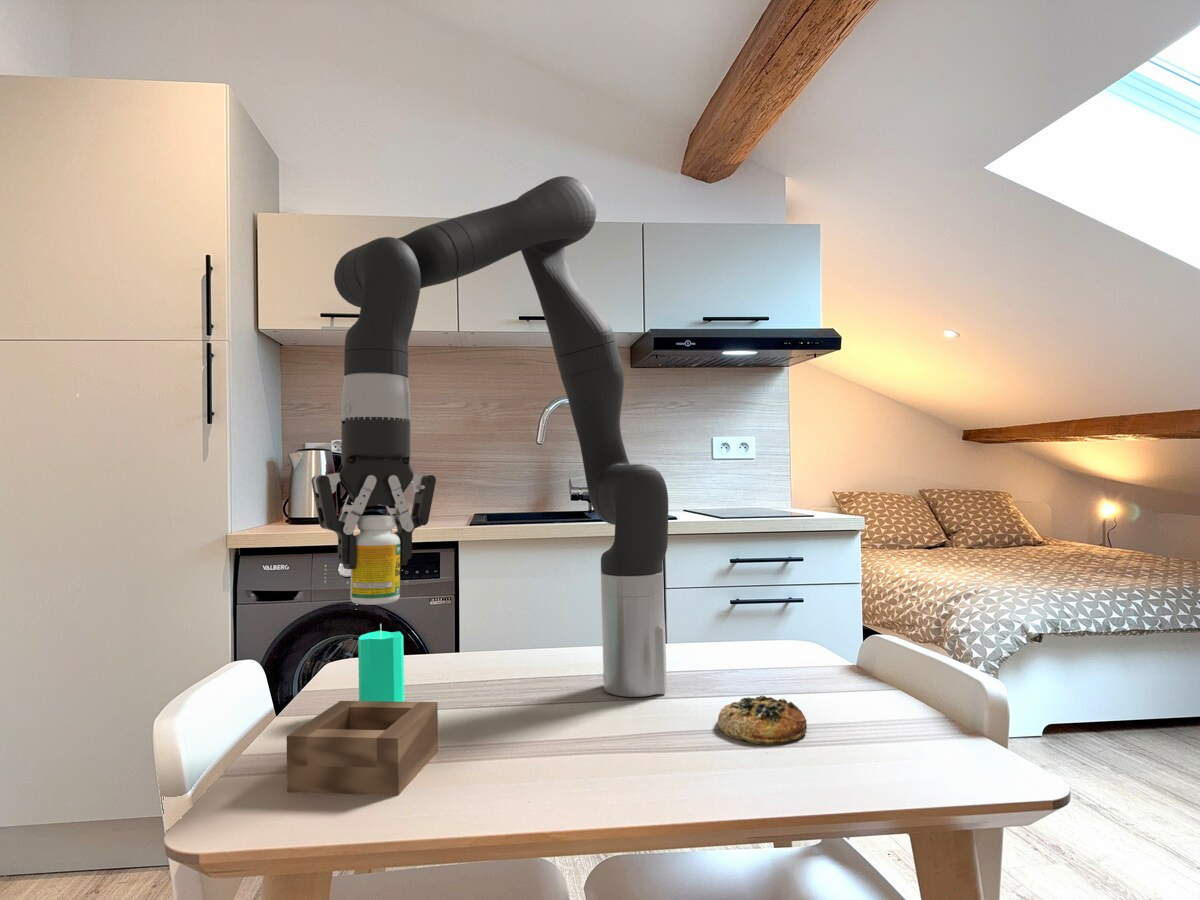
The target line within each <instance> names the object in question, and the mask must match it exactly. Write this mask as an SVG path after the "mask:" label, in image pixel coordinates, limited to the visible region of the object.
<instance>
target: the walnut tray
mask: <svg viewBox="0 0 1200 900" xmlns="http://www.w3.org/2000/svg"><path fill="white" fill-rule="evenodd" d="M438 706H439V705H438V701H404V702H394V701H359V700H339V701H337V702H336V703H335V704H333V705H332V706H330V707H329V708H327V709H326V710H324V711H322V712H321V713H320V714H318V715H316V716H315V717H314V718H312V719H311V720H309V721H307V722H306V723H305V724H303V725H302V726H299V727H298V728H297V729H295V730H293V731H292V732H290V733H289V734H287V735H286V792H287V793H297V794H298V793H301V794H304V793H305V794H332V795H333V794H334V795H335V794H336V795H337V794H339V795H341V794H342V795H367V796H368V794H369V795H370V794H371V796H375V794H376V796H400V794H401V793H402V792H404V790H406V788H407V786H409V784H411V782H413V780H414V779H415V778H416V777H417V776H418V775H419V774H420V772H421V771H422V770H423V769H424V768H425V767H426V765H427V764H428V763H429V762H430V761H431V760H432V759H433V757H435V756H436V754H437V753H439V725H438V724H439V723H438V722H439V721H438V720H439V719H438V717H439V714H438V711H439V710H438ZM423 767H424V768H423ZM373 794H374V795H373ZM377 794H379V795H377ZM382 794H384V795H382Z"/></svg>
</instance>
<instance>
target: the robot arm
mask: <svg viewBox="0 0 1200 900" xmlns="http://www.w3.org/2000/svg"><path fill="white" fill-rule="evenodd" d="M596 218H597V208H596V203H595V199H594V197H593V195H592V193H591V192H590V189H589V188H588V187H587V186H586V185H585V184H584V183H583V182H582V181H580V180H579V179H577V178H575V177H572V176H567V175H560V176H556V177H552V178H550V179H547V180H545V181H543V182H542V183H540V184H538V185H536V186H535V187H533V188H531V189H529V190H527V191H525V192H524V193H522V194H521V195H520V196H518V198H517V199H514V200H511V201H508V202H506V203H503V204H500V205H496V206H493V207H489V208H486V209H482V210H478V211H474V212H471V213H467V214H463V215H459V216H456V217H452V218H449V219H445V220H441V221H439V222H435V223H432V224H428V225H425V226H423V227H419V228H418V229H415V230H414V231H411V232H410V233H407V234H406V235H403V236H400V237H391V236H384V237H379V238H375V239H374V240H371V241H368V242H366V243H364V244H362V245H360V246H357V247H355V248H352V249H351V250H348V251H347V252H346V253H344V255H342V256H341V257H340V258H339V260H338V261H337V264H336V266H335V269H334V273H333V274H334V275H333V278H334V279H333V280H334V285H335V289H336V291H337V292H338V294H339V295H340V297H341V298H342V299H343V300H344V301H346V302H347V303H349V304H350V305H352V306H354V307H356V308H360V309H359V315H358V318H357V320H356V321H355V323H354V324H353V325H352V326H351V327H350V328H348V330H347V332H346V334H345V337H344V338H345V339H344V353H343V355H344V357H343V358H344V359H343V360H344V361H343V362H344V363H343V369H344V370H343V371H344V372H343V375H344V377H343V387H342V391H341V417H340V419H341V420H340V421H341V422H340V423H341V425H340V426H341V427H340V428H341V430H340V431H341V433H340V434H341V435H340V436H341V440H340V441H341V443H340V447H341V448H340V449H341V450H340V458H341V461H340V466H339V468H338V470H337V471H336V472H335V473H329V474H318V475H314V476H313V477H311V479H310V480H311V485H312V491H313V497H314V501H315V506H316V511H317V517H318V522H319V523H318V524H319V526H320V528H321V529H324V530H328V531H332V532H334V533H335V534H336V535H337V560H338V564H342V566H343V569H345V570H351V569H355V567H356V535H357V534H354V531H355V529H356V527H357V525H358V520H359V517H360V516H363V514H364V512H365V509H366V507H374V506H379V507H380V506H381V507H385V508H386V509H387V510H386V511H387V512H388V513H389V515H392V516H394V517H395V526H394V527H395V529H396V530H397V531H394V534H396V535H398V536H399V538H400V566H406V565H407V564H408V561H409V560H411V558H412V556H413V533H414V531H415V529H417V528H419V527H422V526H426V525H428V522H429V520H430V513H431V509H432V503H433V497H434V493H435V487H436V484H437V483H436V481H437V479H436V476H435V475H434V474H420V473H416V472H414V471H413V469H412V467H411V464H410V459H411V416H412V409H411V393H410V385H409V339H410V336H411V332H412V329H413V326H414V322H415V317H416V313H417V308H418V304H419V303H418V302H419V298H420V293H421V289H424V288H427V287H432V286H437V285H442V284H445V283H449V282H451V281H453V280H456V279H458V278H462V277H464V276H467V275H470V274H472V273H475V272H477V271H480V270H481V269H482V270H483V269H485V268H487V267H488V266H490V265H492V264H493V265H494V264H495V263H497V262H498V261H501V260H503V259H504V258H507V257H510V256H511V255H513V254H516V253H517V252H521V254H522V257H523V260H524V262H525V264H526V267H527V270H528V272H529V275H530V277H531V280H532V283H533V285H534V288H535V291H536V294H537V297H538V300H539V304H540V307H541V310H542V314H543V316H544V320H545V323H546V327H547V330H548V332H549V337H550V341H551V344H552V348H553V353H554V357H555V360H556V364H557V367H558V371H559V375H560V378H561V381H562V385H563V387H564V391H565V394H566V397H567V401H568V404H569V405H568V406H569V409H570V413H571V416H572V420H573V424H574V428H575V431H576V434H577V437H578V438H577V439H578V442H579V447H580V451H581V452H580V453H581V457H582V465H583V470H584V477H585V482H586V487H587V492H588V497H589V501H590V504H591V507H592V508H593V511H594V513H595V514H596V515H597V517H598V518H599V519H600V520H601V521H603V522H605V523H607V524H608V525H609V524H610V525H614V539H613V543H612V545H611V547H609V549H608V550H606V551H604V552H603V553H602V554H601V557H600V585H601V587H600V588H601V590H600V592H601V626H602V627H601V628H602V629H601V630H602V632H601V634H602V664H603V665H602V669H603V672H602V678H603V690H604V691H605V692H607V693H608V694H611V695H614V696H619V697H629V698H631V697H632V698H633V697H635V698H639V697H641V698H642V697H648V696H653V695H655V696H656V695H665V694H666V689H667V683H668V682H667V645H666V619H665V609H664V606H665V604H664V576H663V575H664V573H663V571H664V569H663V568H664V567H663V563H664V558H665V557H666V554H667V551H668V544H669V543H668V542H669V541H668V540H669V537H668V536H669V493H668V488H667V485H666V481H665V479H664V477H663V475H662V474H661V473H660V471H658V470H657V469H656V468H655V467H653V466H652V465H648V464H643V463H642V464H641V463H639V464H638V463H637V464H635V463H634V464H631V463H630V461H629V458H628V456H627V452H626V448H625V444H624V442H623V437H622V433H621V413H622V406H623V396H624V389H625V387H624V386H625V374H624V373H625V371H624V368H623V367H624V366H623V363H622V359H621V356H620V352H619V348H618V344H617V341H616V340H617V339H616V337H615V334H614V331H613V329H612V327H611V326H610V324H609V322H608V321H607V320H606V318H605V317H604V316H603V315H602V313H601V312H600V311H599V310H598V309H597V308H596V307H595V305H594V304H593V303H592V302H591V301H590V300H589V299H588V298H587V296H586V295H585V294H584V293H583V292H582V291H581V289H580V287H579V286H578V285H577V283H576V280H575V279H574V276H573V274H572V271H571V268H570V265H569V261H568V258H567V254H566V250H565V248H566V247H568V246H570V245H573V244H575V243H577V242H578V241H581V240H582V239H583V238H586V236H587V235H588V234H589V233H590V232H591V231H592V229H593V228H594V225H595V223H596ZM338 483H339V484H340V485H341V487H342V488H343V490H344V492H346V493H347V497H346V499H345V501H344V504H343V506H342V509H341V515H340V517H339V519H338V517H337V512H336V505H335V500H334V496H333V494H334V493H335V492H336V491H337V486H338ZM410 484H412V489H413V491H414V499H413V503H412V507H411V513H410V509H409V505H408V503H407V500H406V496H405V495H404V493H405V491H406V490H407V488H408V487H409V485H410Z"/></svg>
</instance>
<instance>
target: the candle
mask: <svg viewBox="0 0 1200 900" xmlns="http://www.w3.org/2000/svg"><path fill="white" fill-rule="evenodd" d="M379 628H380V630H376V631H372V632H371V631H370V632H367V633H365V634H361V635H360V636H359V637H358V640H357V641H358V642H357V647H358V649H357V650H358V701H394V702H405V668H404V666H405V661H404V660H405V659H404V656H405V654H404V635H403V633H402V632H401V631H394V632H393V631H392V632H390V631H386V630H385V631H384V630H382V623H380V624H379Z"/></svg>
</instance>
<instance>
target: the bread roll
mask: <svg viewBox="0 0 1200 900" xmlns="http://www.w3.org/2000/svg"><path fill="white" fill-rule="evenodd" d="M717 726H718V727H719V728H720V730H721V732H722V733H723V734H724V735H726V736H727V737H730V738H732V739H736V740H740V741H741V740H743V741H746V742H748V743H750V744H755V745H765V746H766V745H767V746H771V745H782V744H787V743H789V742H793V741H796V740H800V739H802V738H803V736H805V734H807V729H808V727H807V726H808V725H807V719H806V716H805V715H804V713H803V711H802V710H801V709H800V708H799V707H798V706H797V705H796V704H794V703H793V702H792V701H789V702H788V701H787V700H786V699H784V698H780V699H775V698H773V697H771V696H769V697H767V696H765V695H760V696H756V697H749V696H748V697H742V698H741V699H740V700H739V701H735V702H731V703H730V704H726V705H725V706H724V707H723V708H721V709H720V711H719V713H718V718H717Z"/></svg>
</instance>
